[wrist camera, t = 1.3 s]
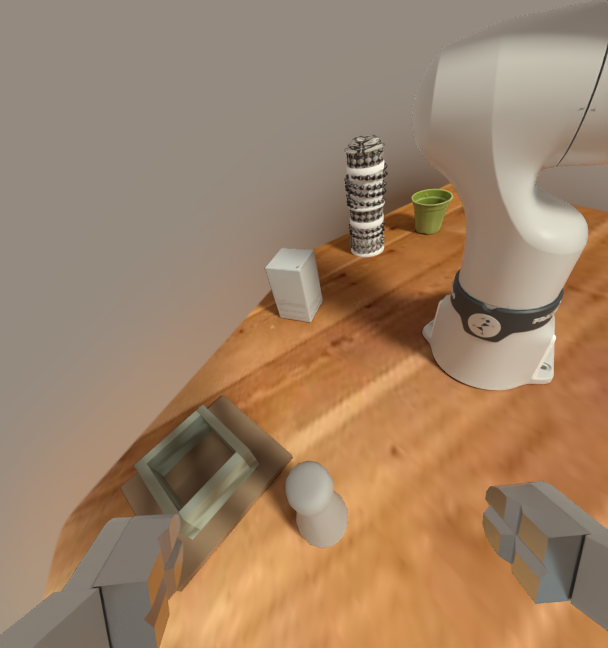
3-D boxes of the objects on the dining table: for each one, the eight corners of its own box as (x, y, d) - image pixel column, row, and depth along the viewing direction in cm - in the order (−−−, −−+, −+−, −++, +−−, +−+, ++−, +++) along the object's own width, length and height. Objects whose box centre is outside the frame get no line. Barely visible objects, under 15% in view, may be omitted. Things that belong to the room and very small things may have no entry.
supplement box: (323, 300, 64) (315, 249, 55) (310, 323, 59) (299, 271, 50) (293, 296, 66) (281, 246, 58) (278, 317, 62) (263, 267, 53)
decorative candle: (393, 247, 74) (398, 133, 57) (364, 262, 71) (360, 147, 55) (369, 236, 80) (368, 130, 63) (342, 249, 78) (332, 142, 61)
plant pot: (455, 231, 75) (461, 197, 69) (421, 241, 74) (425, 207, 68) (433, 218, 82) (437, 186, 76) (402, 227, 81) (404, 195, 75)
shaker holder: (225, 398, 49) (212, 379, 45) (292, 457, 40) (284, 439, 36) (124, 489, 41) (99, 475, 37) (181, 591, 32) (155, 585, 28)
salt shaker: (290, 525, 34) (260, 488, 26) (319, 483, 37) (302, 437, 28) (329, 566, 31) (311, 539, 22) (359, 516, 34) (353, 475, 25)
